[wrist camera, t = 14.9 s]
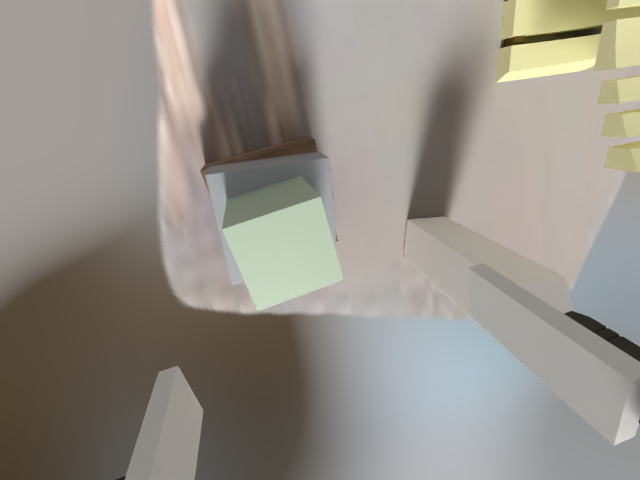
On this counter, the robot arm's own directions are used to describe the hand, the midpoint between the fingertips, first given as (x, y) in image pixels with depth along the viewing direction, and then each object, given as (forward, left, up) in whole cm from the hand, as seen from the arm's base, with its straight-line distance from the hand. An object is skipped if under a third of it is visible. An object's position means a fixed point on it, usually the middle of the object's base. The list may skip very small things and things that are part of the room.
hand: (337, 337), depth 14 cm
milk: (+12, +19, -28) cm, 36 cm away
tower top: (+1, -1, -23) cm, 23 cm away
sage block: (0, -1, -18) cm, 18 cm away
